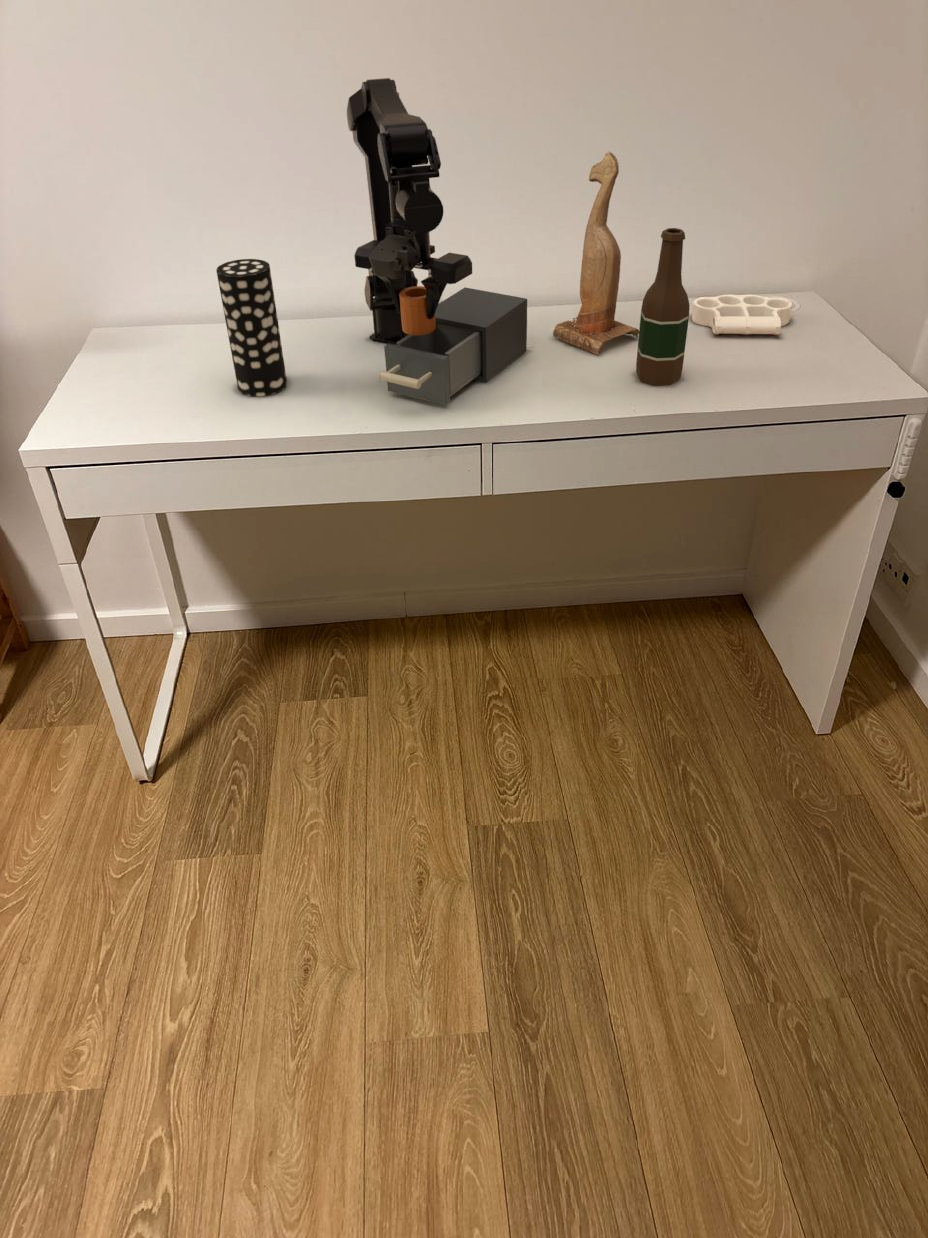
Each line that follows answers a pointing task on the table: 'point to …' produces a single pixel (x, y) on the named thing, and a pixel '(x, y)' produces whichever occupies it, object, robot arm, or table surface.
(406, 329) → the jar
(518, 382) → the table surface
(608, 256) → the bird sculpture
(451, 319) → the cabinet
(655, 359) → the beer bottle
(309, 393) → the table surface
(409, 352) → the drawer
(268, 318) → the spotted tube
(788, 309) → the white brass knuckles
